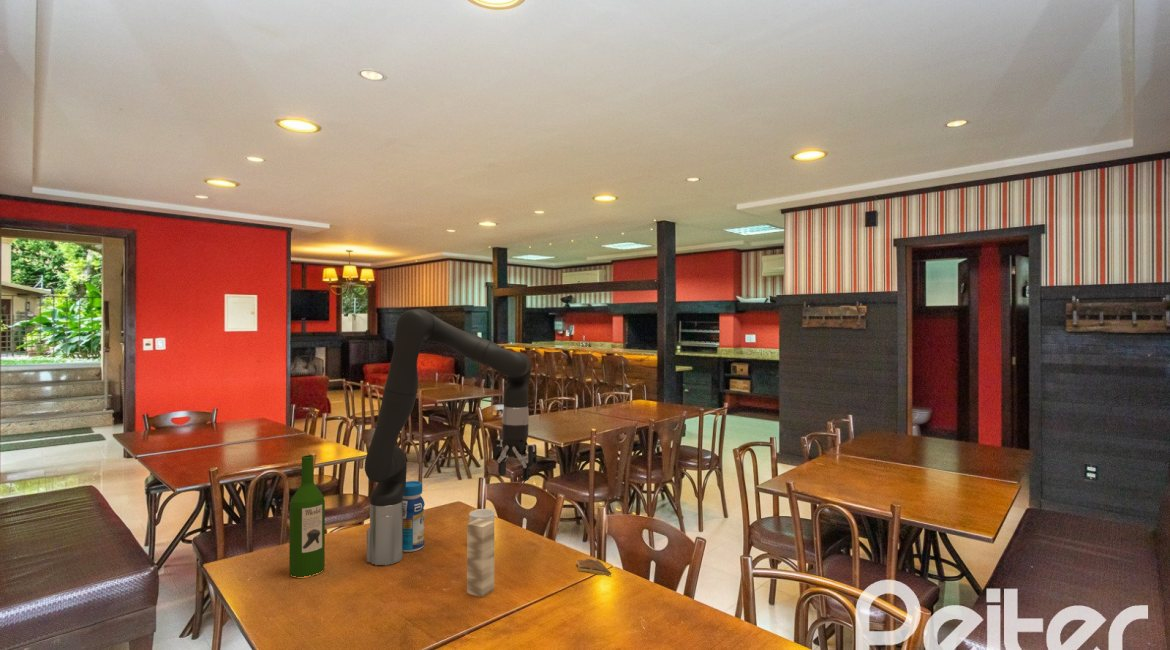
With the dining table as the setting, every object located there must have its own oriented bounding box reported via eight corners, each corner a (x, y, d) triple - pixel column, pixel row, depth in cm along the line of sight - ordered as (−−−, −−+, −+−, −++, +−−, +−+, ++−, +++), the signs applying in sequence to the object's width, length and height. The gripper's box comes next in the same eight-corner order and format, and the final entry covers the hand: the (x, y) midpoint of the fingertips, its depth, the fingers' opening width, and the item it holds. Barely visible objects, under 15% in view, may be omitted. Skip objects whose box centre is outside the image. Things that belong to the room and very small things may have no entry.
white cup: (497, 540, 186) (497, 509, 186) (490, 549, 178) (490, 517, 178) (473, 539, 187) (473, 508, 187) (465, 548, 179) (466, 516, 179)
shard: (611, 578, 159) (611, 571, 159) (586, 582, 157) (586, 576, 157) (597, 563, 170) (597, 557, 170) (572, 567, 167) (572, 560, 167)
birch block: (466, 593, 149) (467, 523, 149) (479, 585, 154) (479, 518, 154) (482, 597, 147) (482, 527, 147) (494, 589, 151) (494, 521, 151)
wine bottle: (299, 581, 155) (299, 461, 155) (283, 572, 161) (283, 456, 161) (330, 570, 162) (331, 455, 162) (314, 562, 168) (315, 451, 168)
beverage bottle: (395, 544, 181) (395, 481, 181) (422, 540, 185) (422, 478, 185) (398, 554, 174) (398, 488, 174) (427, 550, 177) (427, 485, 177)
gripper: (487, 420, 166) (486, 476, 166) (527, 426, 158) (525, 485, 159) (504, 417, 172) (503, 471, 172) (543, 422, 165) (541, 479, 165)
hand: (513, 477), depth 166 cm, fingers open, 8 cm apart
